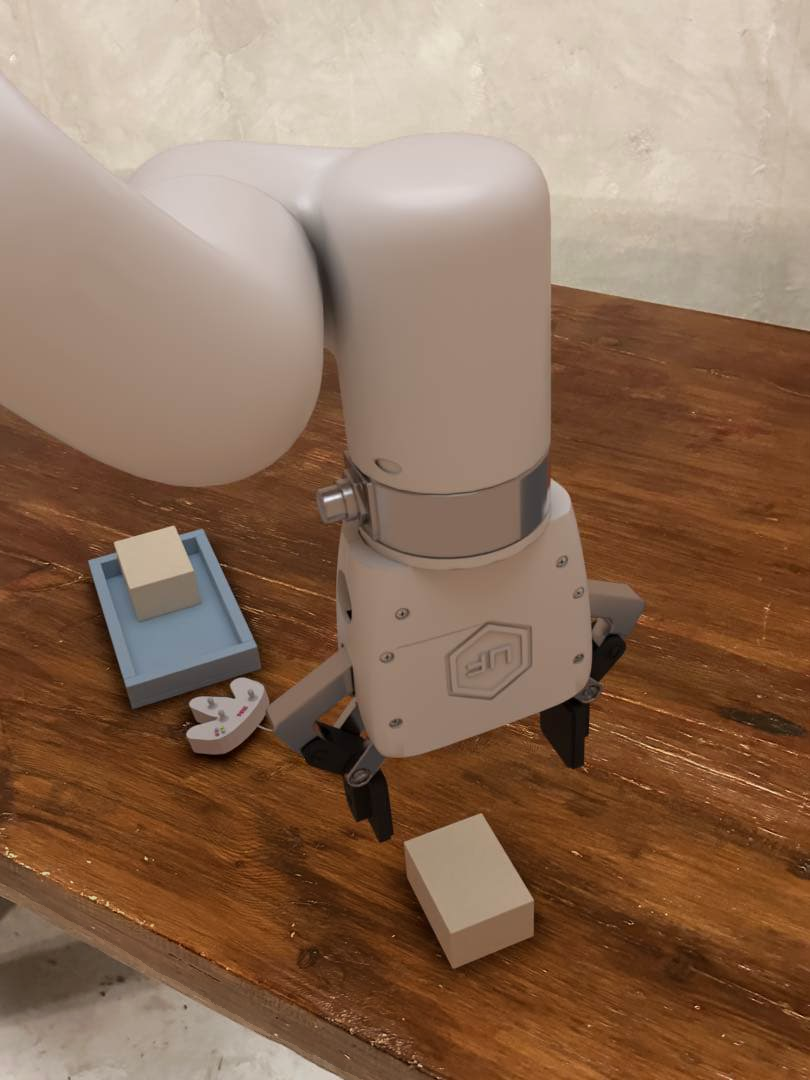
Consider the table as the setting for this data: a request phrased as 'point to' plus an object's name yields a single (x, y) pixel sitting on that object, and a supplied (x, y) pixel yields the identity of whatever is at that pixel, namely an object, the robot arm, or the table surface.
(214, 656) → the tray
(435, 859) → the pad
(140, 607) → the beige block
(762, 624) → the table surface
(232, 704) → the game controller
